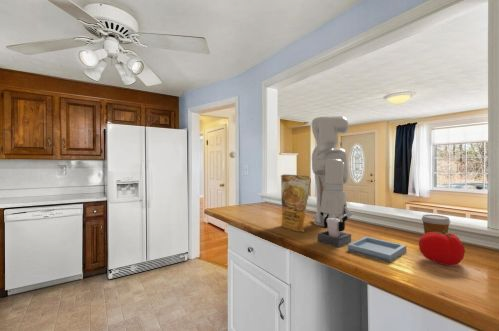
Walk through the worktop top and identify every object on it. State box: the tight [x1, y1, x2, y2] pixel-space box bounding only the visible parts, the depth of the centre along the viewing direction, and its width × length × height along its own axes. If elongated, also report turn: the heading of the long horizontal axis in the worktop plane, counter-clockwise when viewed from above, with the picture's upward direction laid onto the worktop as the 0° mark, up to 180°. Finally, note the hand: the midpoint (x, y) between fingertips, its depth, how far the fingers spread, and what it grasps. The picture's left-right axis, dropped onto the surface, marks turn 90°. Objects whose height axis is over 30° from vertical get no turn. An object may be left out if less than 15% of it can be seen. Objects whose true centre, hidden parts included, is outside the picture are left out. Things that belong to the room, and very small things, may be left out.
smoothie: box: [326, 215, 340, 238], centre depth 108 cm, size 6×6×14 cm
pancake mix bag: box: [280, 174, 312, 233], centre depth 131 cm, size 7×19×28 cm, turn 35°
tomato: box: [418, 231, 466, 266], centre depth 86 cm, size 13×12×11 cm
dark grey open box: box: [316, 229, 352, 248], centre depth 108 cm, size 10×10×4 cm
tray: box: [347, 236, 407, 263], centre depth 96 cm, size 15×15×2 cm
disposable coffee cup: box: [421, 214, 452, 234], centre depth 102 cm, size 10×10×12 cm
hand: (334, 228), depth 108 cm, fingers closed on smoothie, 6 cm apart
